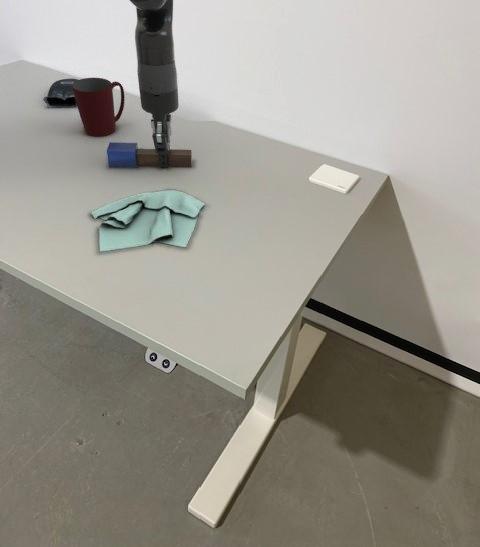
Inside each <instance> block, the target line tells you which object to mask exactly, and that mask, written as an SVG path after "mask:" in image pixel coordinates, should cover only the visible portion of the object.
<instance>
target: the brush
mask: <svg viewBox="0 0 480 547" xmlns="http://www.w3.org/2000/svg"><path fill="white" fill-rule="evenodd" d="M106 157H107V161H108V166H109V167H108V168H110V169H112V168H113V169H138V167H148V168H149V167H150V168H152V167H153V168H154V167H155V168H156V167H157V168H161V167H160V166H159V158H158V154H156V152H155V148H139V147H138V142H118V141H117V142H116V141H115V142H113V141H110V142H109V143H108V145H107V148H106ZM192 167H193V151H192V149H181V148H179V149H174V148H172V149H171V148H170V149H169V167H168V168H192Z"/></svg>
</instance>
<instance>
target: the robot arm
mask: <svg viewBox="0 0 480 547" xmlns="http://www.w3.org/2000/svg"><path fill="white" fill-rule="evenodd" d="M129 2H130V3H131V4H132V5H133V6H134V7H135V10H136V25H135V28H134V42H135V53H136V61H137V63H136V64H137V67H136V68H137V71H136V72H137V82H138V89H139V97H140V98H139V99H140V105H141V106H140V108H141V109H142V110H143V111H144V112H145V113H147V114H148V113H149V114H151V119H150V127H151V129H152V135H151V138H152V142H153V147H154V149H155V152H156V154H158V158H159V166H160V167H159V168H170V167H169V149H171V145H170V144H171V141H172V140H171V136H172V119H173V118H172V113H175V112H176V111H177V110H178V109H179V106H180V104H179V86H178V71H177V66H176V60H175V58H176V56H175V42H174V32H173V31H174V30H173V21H174V20H173V18H174V0H129Z"/></svg>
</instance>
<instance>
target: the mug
mask: <svg viewBox="0 0 480 547" xmlns="http://www.w3.org/2000/svg"><path fill="white" fill-rule="evenodd" d="M115 87H119V89H120V90H119V91H120V104H119V108H118V111H117V114H115V104H114V103H115V102H114V92H113V90H114V88H115ZM72 89H73V93H74V97H75V100H76V107H77V111H78V112H79V113H78V114H79V116H80V121H81V123H82V126H83V129H84V132H85V134H87V135H88V136H91V137H106V136H109V135H111V134H113V133H114V132H116V123H117V122H118V121H119V120H120V118H121V117H122V114H123V112H124V109H125V90H124V86H123V85H122V84H121V83H120V82H119V81H112V82H111V81H110V80H108V79H107V78H103V77H84V78H79V79H78V80H77V81H75V82H74V83H73V84H72Z"/></svg>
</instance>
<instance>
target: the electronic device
mask: <svg viewBox="0 0 480 547" xmlns="http://www.w3.org/2000/svg"><path fill="white" fill-rule="evenodd" d="M77 80H79V78H73V77H72V78H61V79H58V80H55V81H54V82H53V83H52V84H51V85H50V87H49V89H48V92H47V95H46V96H44V97H43V102H44V103H45V105H46V106H47V108H74V107H77V104H76V100H75V97H74V93H73V89H72V84H73V83H74V82H75V81H77Z"/></svg>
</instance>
